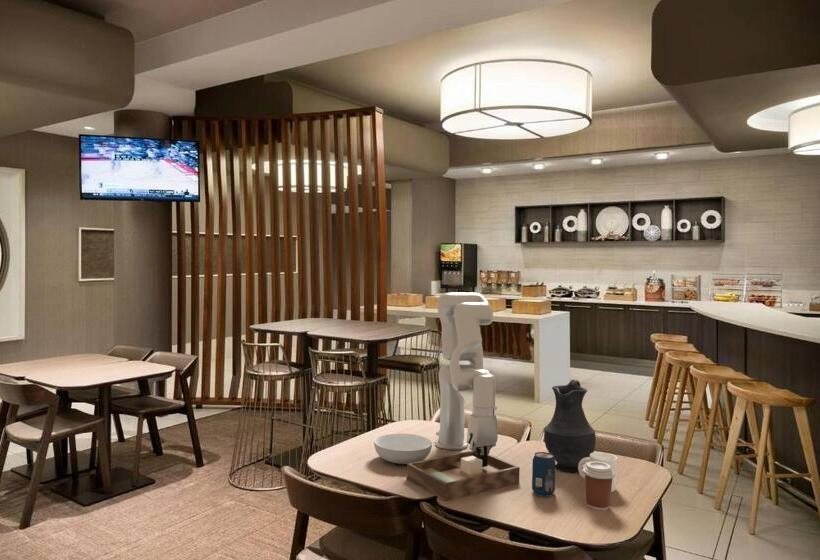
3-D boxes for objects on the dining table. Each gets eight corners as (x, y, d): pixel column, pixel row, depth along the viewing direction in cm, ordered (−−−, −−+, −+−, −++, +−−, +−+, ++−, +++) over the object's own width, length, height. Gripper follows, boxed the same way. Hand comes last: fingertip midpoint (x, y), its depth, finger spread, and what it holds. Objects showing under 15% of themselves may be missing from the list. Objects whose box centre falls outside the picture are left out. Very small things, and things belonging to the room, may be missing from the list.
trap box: (477, 463, 204) (477, 449, 204) (519, 482, 187) (519, 467, 187) (406, 478, 188) (407, 463, 188) (445, 501, 170) (445, 484, 170)
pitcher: (537, 471, 197) (540, 384, 197) (552, 455, 216) (554, 375, 215) (589, 481, 189) (592, 390, 189) (600, 463, 208) (602, 380, 207)
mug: (574, 486, 184) (574, 454, 184) (581, 479, 191) (582, 448, 191) (612, 495, 178) (613, 462, 178) (619, 487, 185) (619, 455, 184)
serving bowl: (408, 474, 192) (408, 454, 192) (361, 461, 205) (362, 442, 205) (443, 459, 209) (443, 440, 208) (397, 447, 221) (398, 429, 221)
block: (460, 470, 190) (460, 458, 190) (472, 467, 193) (472, 455, 193) (470, 474, 186) (470, 462, 186) (482, 472, 189) (482, 460, 189)
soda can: (538, 487, 183) (539, 449, 183) (558, 493, 179) (559, 454, 178) (527, 493, 178) (528, 455, 177) (548, 499, 173) (549, 460, 173)
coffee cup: (607, 499, 174) (608, 460, 174) (619, 512, 165) (620, 470, 165) (577, 499, 174) (578, 460, 174) (587, 512, 165) (588, 470, 165)
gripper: (492, 406, 199) (491, 458, 199) (459, 411, 191) (457, 466, 191) (508, 410, 193) (506, 465, 193) (473, 416, 184) (472, 473, 185)
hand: (482, 465), depth 192 cm, fingers closed
